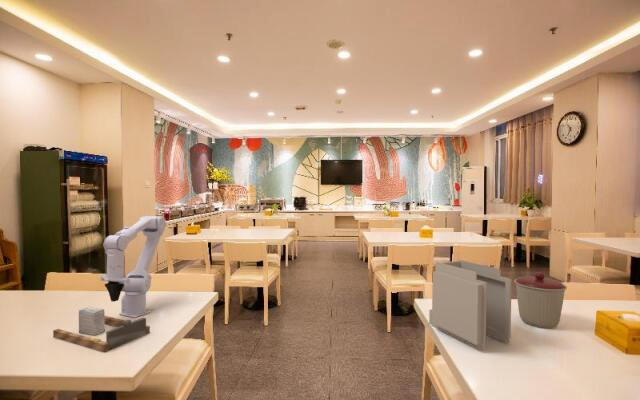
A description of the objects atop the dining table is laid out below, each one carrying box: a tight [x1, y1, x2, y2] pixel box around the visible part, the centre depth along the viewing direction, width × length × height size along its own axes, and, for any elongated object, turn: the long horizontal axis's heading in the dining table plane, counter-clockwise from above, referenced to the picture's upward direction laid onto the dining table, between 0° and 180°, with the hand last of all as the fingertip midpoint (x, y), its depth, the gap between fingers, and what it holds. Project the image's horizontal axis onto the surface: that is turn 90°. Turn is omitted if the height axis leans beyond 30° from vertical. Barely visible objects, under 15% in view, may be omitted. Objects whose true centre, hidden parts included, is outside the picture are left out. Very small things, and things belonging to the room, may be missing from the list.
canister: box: [513, 271, 568, 329], centre depth 136 cm, size 18×18×21 cm
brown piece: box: [52, 315, 151, 353], centre depth 122 cm, size 28×17×7 cm, turn 67°
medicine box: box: [78, 306, 106, 336], centre depth 124 cm, size 8×4×9 cm, turn 71°
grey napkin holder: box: [428, 259, 513, 350], centre depth 125 cm, size 17×27×26 cm, turn 25°
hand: (114, 300), depth 130 cm, fingers closed
